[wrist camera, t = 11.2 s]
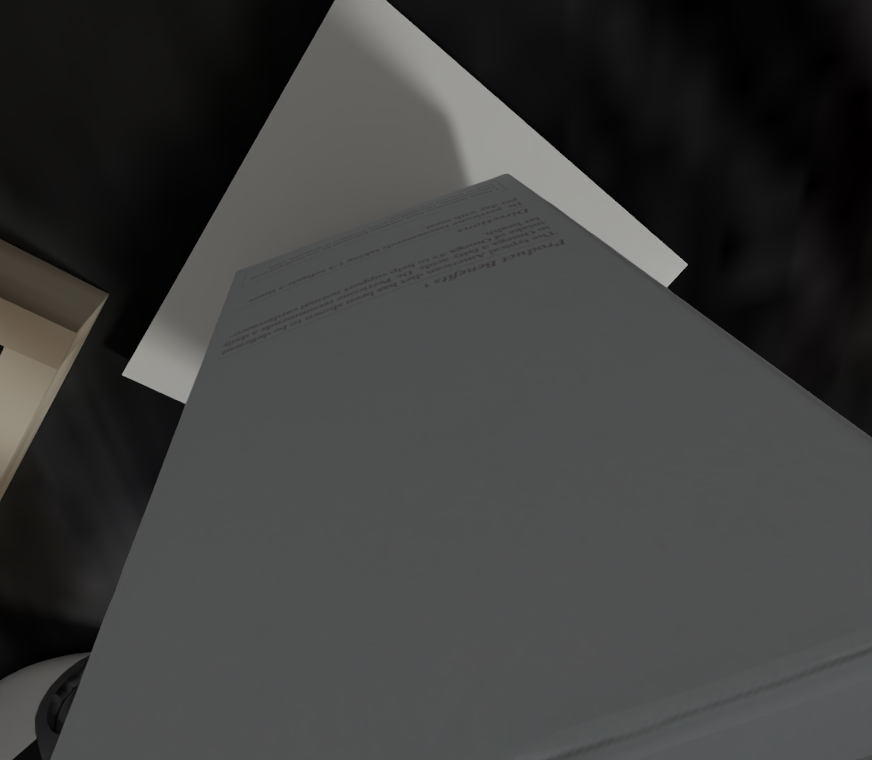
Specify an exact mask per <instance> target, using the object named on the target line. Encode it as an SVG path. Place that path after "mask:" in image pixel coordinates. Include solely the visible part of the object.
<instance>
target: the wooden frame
mask: <svg viewBox="0 0 872 760" xmlns="http://www.w3.org/2000/svg"><path fill="white" fill-rule="evenodd" d="M108 295H109V294H108V293H106V292H104V291H102V290H100V289H98V288H96V287H94V286H92V285H90V284H88V283H86V282H84V281H82V280H80V279H78V278H76V277H74V276H72V275H70V274H68V273H66V272H64V271H62V270H60V269H58V268H56V267H54V266H53V265H51V264H49V263H47V262H45V261H43V260H41V259H39V258H37V257H35V256H33V255H31V254H29V253H27V252H25V251H23V250H21V249H19V248H17V247H15V246H13V245H11V244H9V243H7V242H5V241H3V240H1V239H0V345H2V346H4V349H3V351H2V353H1V355H0V500H1V498H2V497H3V495H4V493H5V491H6V489H7V487H8V485H9V483H10V481H11V479H12V478H13V476H14V474H15V472H16V470H17V468H18V466H19V464H20V462H21V460H22V459H23V457H24V455H25V453H26V451H27V449H28V447H29V445H30V443H31V442H32V440H33V438H34V436H35V434H36V432H37V430H38V428H39V426H40V424H41V423H42V421H43V419H44V417H45V415H46V413H47V411H48V409H49V407H50V405H51V404H52V402H53V400H54V398H55V396H56V394H57V392H58V390H59V388H60V386H61V385H62V383H63V381H64V379H65V377H66V375H67V373H68V371H69V369H70V368H71V366H72V364H73V362H74V360H75V358H76V356H77V354H78V352H79V350H80V349H81V347H82V345H83V343H84V341H85V339H86V337H87V335H88V333H89V331H90V330H91V328H92V326H93V324H94V322H95V320H96V318H97V316H98V314H99V313H100V311H101V309H102V307H103V305H104V303H105V301H106V299H107V297H108Z"/></svg>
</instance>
